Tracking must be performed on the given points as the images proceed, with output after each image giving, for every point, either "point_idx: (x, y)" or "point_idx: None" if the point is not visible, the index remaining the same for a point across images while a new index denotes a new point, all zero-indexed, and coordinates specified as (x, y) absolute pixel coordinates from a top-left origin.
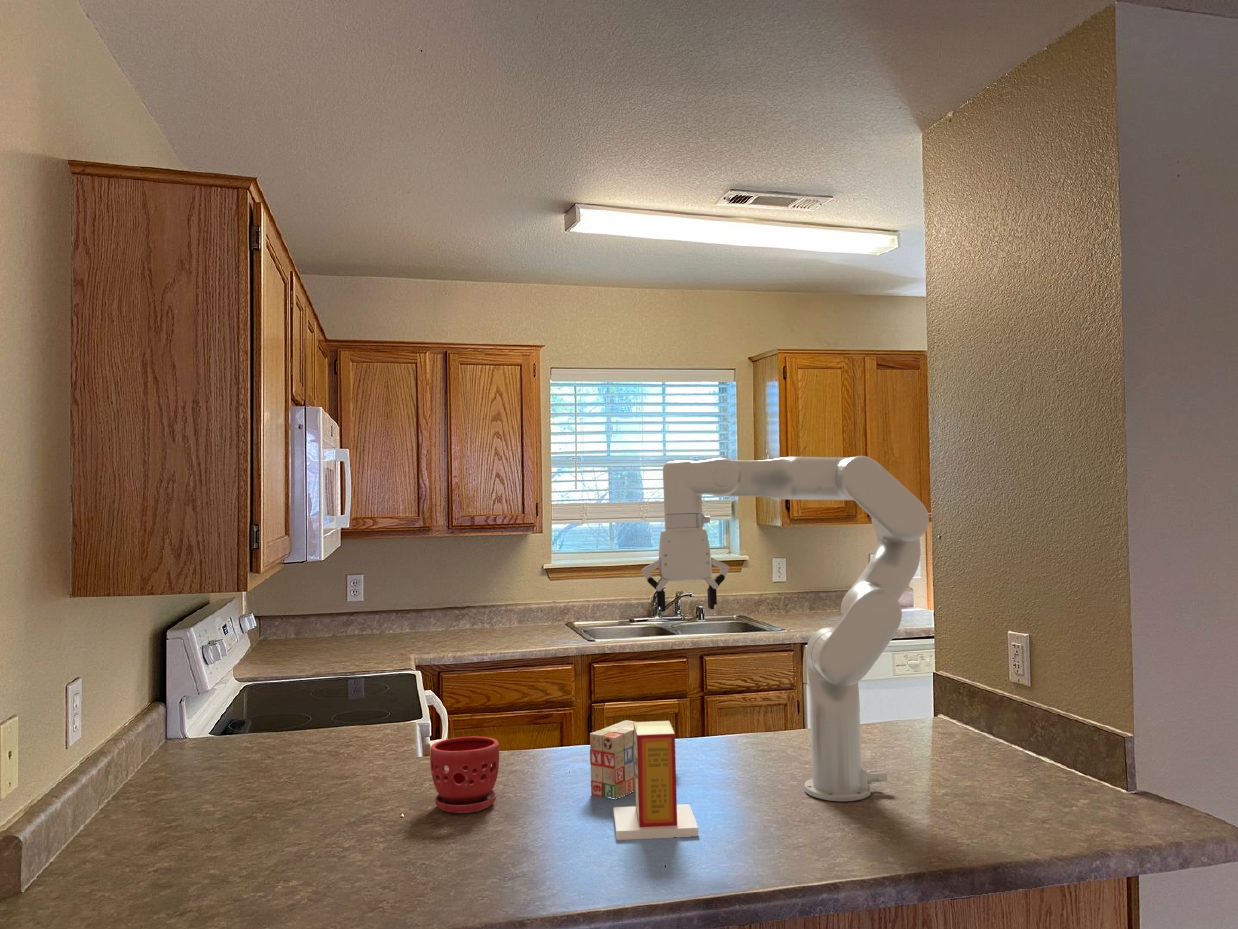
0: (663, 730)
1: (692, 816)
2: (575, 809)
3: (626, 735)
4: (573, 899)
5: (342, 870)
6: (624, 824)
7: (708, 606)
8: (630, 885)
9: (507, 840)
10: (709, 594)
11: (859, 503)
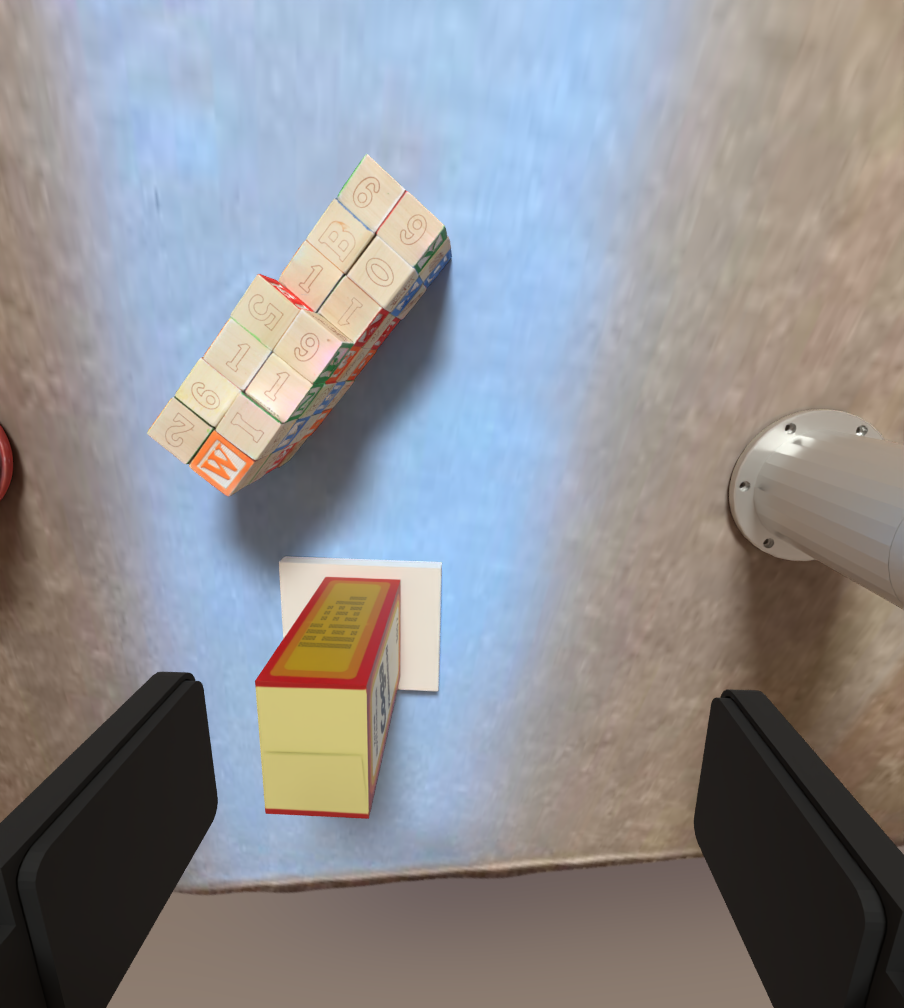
0: (339, 789)
1: (436, 636)
2: (202, 505)
3: (265, 450)
4: (233, 855)
5: None
6: None
7: (715, 730)
8: (312, 829)
9: (95, 645)
10: (782, 972)
11: None
